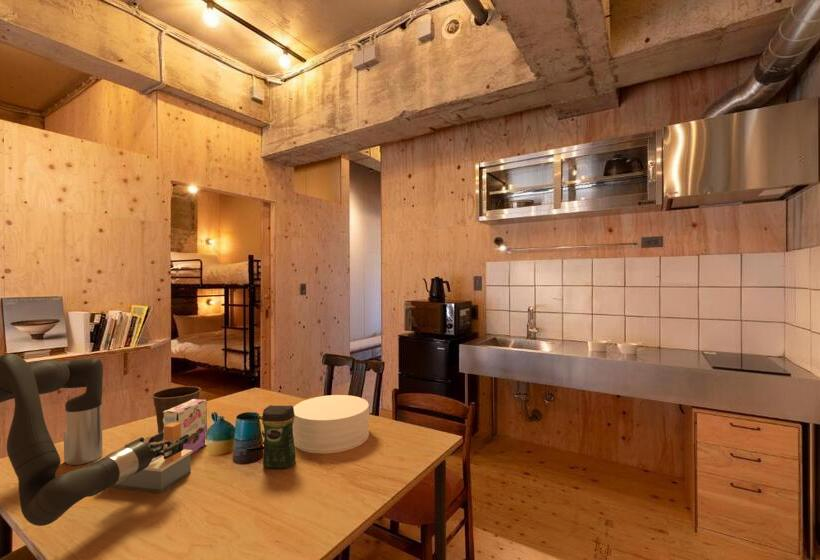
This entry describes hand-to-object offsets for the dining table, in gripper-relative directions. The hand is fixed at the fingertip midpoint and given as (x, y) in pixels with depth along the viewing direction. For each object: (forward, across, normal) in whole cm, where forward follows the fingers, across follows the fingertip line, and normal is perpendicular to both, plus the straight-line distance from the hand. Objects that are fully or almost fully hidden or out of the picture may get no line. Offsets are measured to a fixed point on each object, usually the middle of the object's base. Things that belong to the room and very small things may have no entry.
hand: (174, 436), depth 114 cm
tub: (-1, +8, +13) cm, 15 cm away
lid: (-1, +8, +7) cm, 10 cm away
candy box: (+17, +11, +13) cm, 24 cm away
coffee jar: (+15, -25, +13) cm, 32 cm away
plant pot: (+31, +27, +13) cm, 43 cm away
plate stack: (+38, -33, +14) cm, 52 cm away
